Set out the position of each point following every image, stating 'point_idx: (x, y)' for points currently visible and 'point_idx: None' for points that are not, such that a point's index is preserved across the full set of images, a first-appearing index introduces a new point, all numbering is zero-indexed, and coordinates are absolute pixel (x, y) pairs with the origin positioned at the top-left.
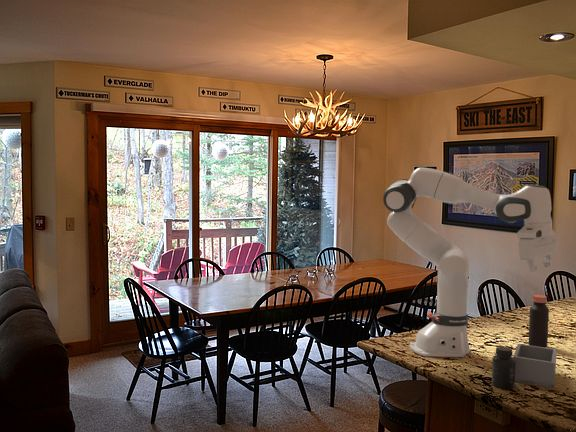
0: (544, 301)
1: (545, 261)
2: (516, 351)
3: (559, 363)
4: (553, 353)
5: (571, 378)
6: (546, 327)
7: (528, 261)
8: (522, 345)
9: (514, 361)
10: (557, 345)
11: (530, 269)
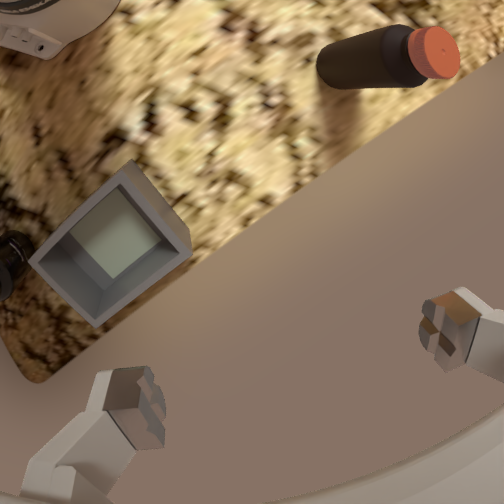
0: (429, 76)
1: (481, 326)
2: (60, 231)
3: (259, 186)
4: (151, 278)
5: (190, 269)
6: (372, 87)
7: (39, 479)
8: (123, 186)
9: (5, 299)
10: (383, 94)
11: (99, 389)
